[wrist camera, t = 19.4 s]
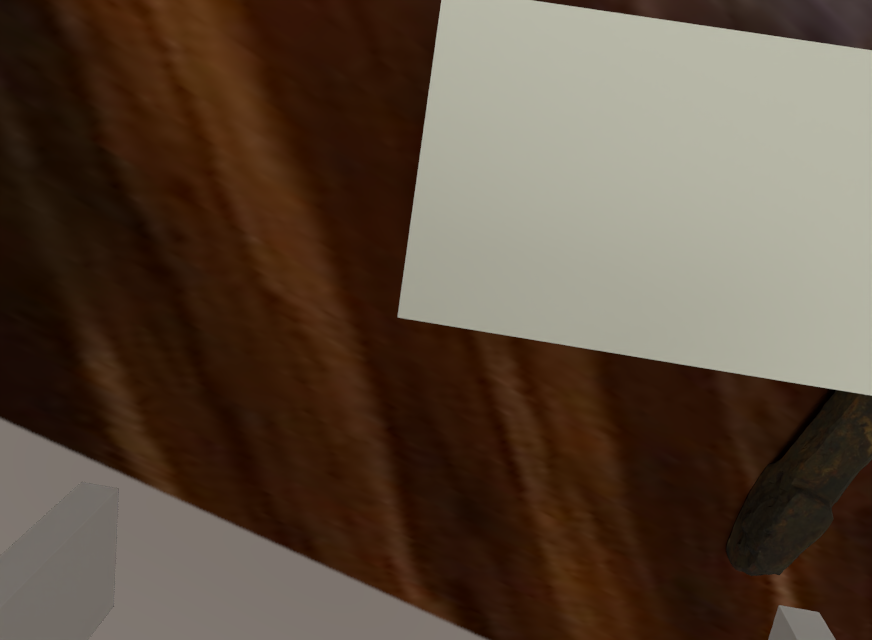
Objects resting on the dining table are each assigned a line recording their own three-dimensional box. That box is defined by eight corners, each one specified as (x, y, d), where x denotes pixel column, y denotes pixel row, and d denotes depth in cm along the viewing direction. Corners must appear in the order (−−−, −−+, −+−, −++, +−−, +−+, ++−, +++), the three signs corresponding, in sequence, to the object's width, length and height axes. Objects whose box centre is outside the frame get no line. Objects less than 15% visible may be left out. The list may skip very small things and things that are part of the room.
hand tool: (920, 251, 42) (968, 269, 37) (981, 294, 42) (1037, 318, 37) (685, 520, 47) (703, 565, 42) (742, 557, 47) (766, 605, 43)
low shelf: (427, 256, 44) (397, 317, 32) (462, 19, 40) (443, -13, 28) (881, 329, 42) (1029, 421, 30) (955, 93, 39) (1152, 91, 27)
